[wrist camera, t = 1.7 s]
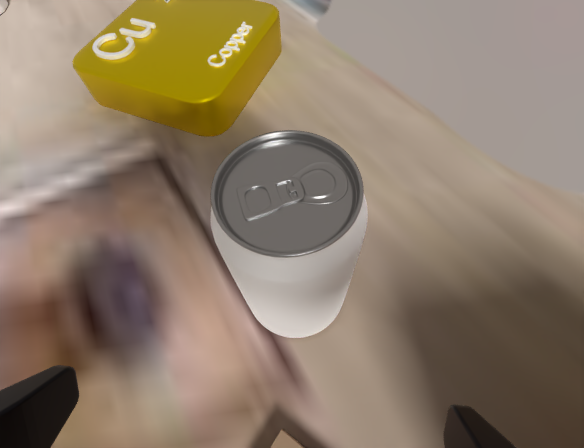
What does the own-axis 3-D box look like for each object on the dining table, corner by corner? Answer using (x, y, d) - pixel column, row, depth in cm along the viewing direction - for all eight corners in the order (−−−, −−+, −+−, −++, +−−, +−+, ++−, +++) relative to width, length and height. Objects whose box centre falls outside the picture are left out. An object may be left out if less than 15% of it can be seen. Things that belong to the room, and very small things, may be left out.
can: (359, 321, 22) (407, 235, 11) (262, 353, 21) (217, 294, 11) (324, 235, 25) (337, 106, 14) (238, 261, 24) (186, 145, 14)
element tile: (221, 145, 30) (207, 101, 26) (87, 103, 33) (56, 59, 29) (288, 46, 37) (286, -1, 32) (171, 20, 40) (155, -27, 36)
